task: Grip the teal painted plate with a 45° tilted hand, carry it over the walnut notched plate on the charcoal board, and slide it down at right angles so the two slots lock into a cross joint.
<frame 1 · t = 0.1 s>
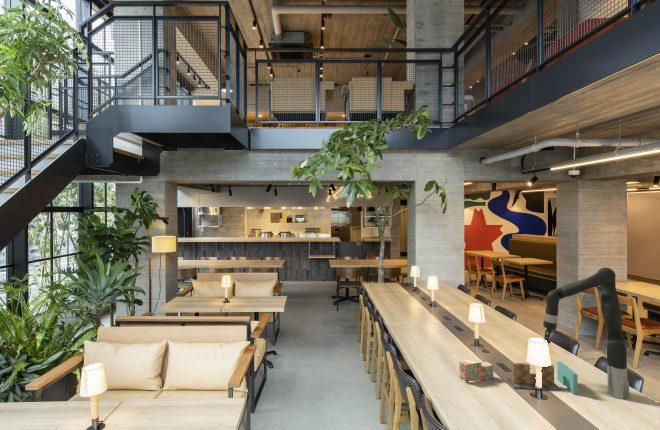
hand: (547, 344, 240), 22 cm above the table, tool pointing down, fingers open, 8 cm apart
halving stand: (533, 385, 231), on the table
teal plate: (567, 386, 228), on the table
stack of blocks: (476, 379, 240), on the table
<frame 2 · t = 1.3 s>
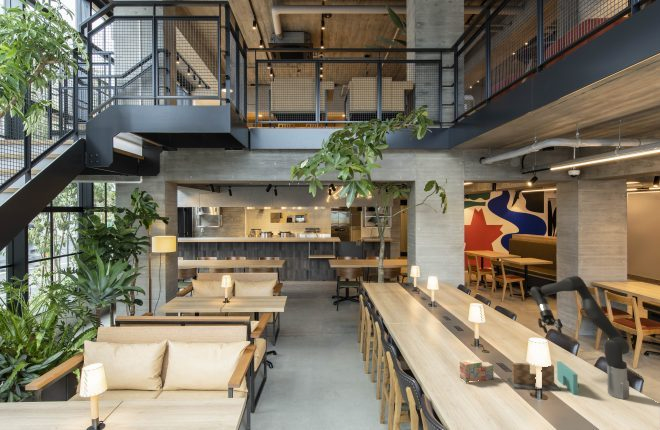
hand: (553, 333, 247), 28 cm above the table, tool tilted 45°, fingers open, 8 cm apart
nothing on the table moved.
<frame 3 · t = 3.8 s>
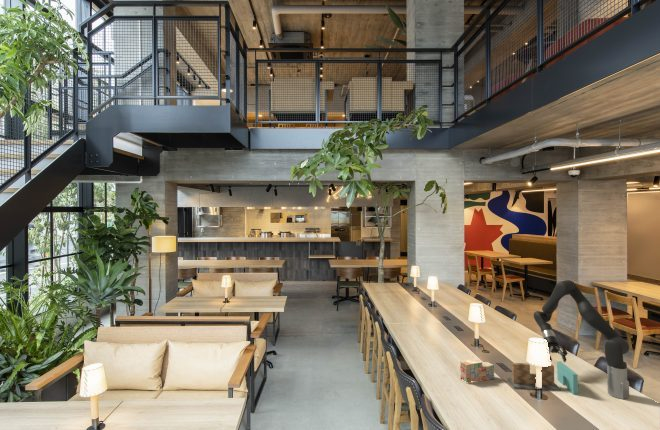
hand: (558, 361, 239), 12 cm above the table, tool tilted 45°, fingers open, 8 cm apart
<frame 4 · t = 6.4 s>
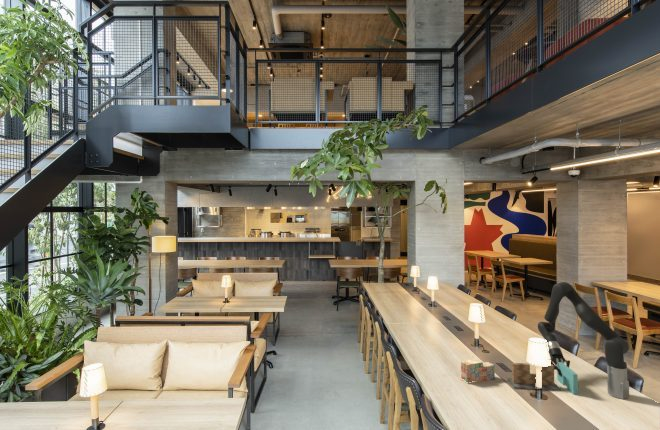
hand: (563, 375, 232), 5 cm above the table, tool tilted 45°, fingers closed on teal plate, 2 cm apart
teal plate: (567, 386, 228), on the table, touching gripper
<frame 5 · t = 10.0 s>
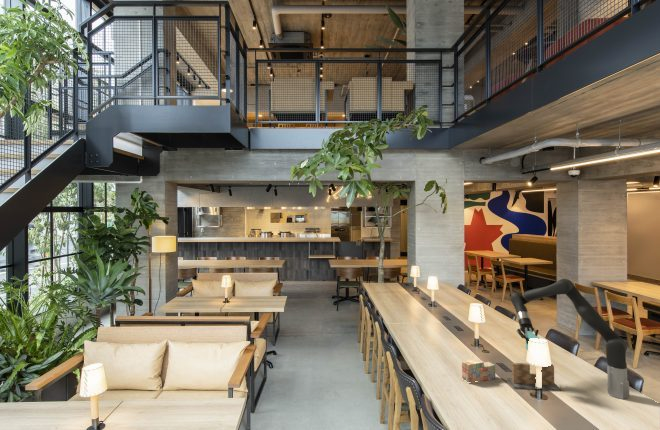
hand: (531, 344, 235), 24 cm above the table, tool tilted 45°, fingers closed on teal plate, 2 cm apart
teal plate: (533, 354, 231), point 19 cm above the table, touching gripper
when the fingers open (7 cm above the table, at t = 13.8 s): teal plate drops 1 cm, resting on halving stand.
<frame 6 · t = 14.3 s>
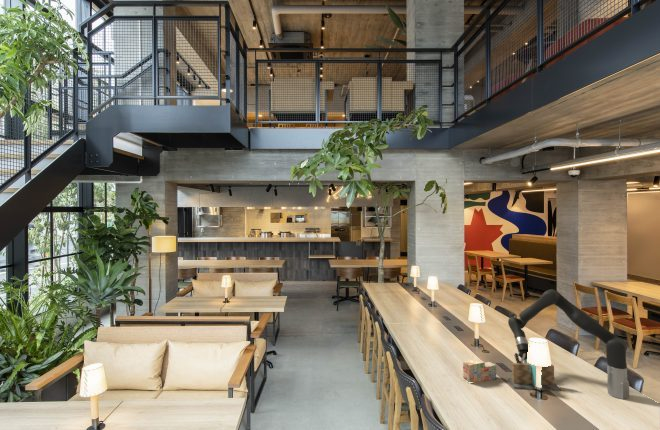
hand: (530, 369, 235), 8 cm above the table, tool tilted 45°, fingers open, 6 cm apart
teal plate: (532, 383, 231), point 1 cm above the table, touching halving stand
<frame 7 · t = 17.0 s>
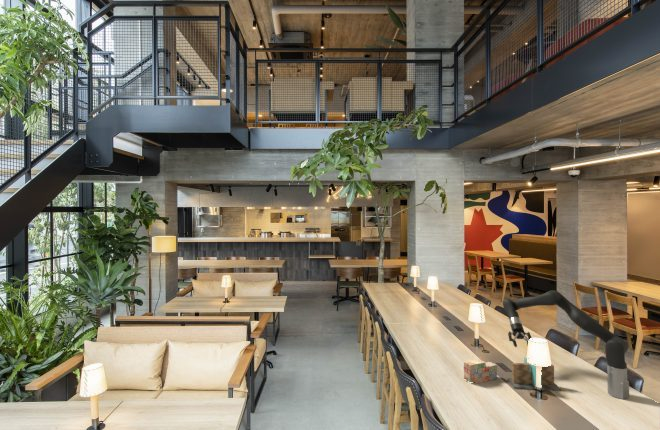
hand: (522, 346, 247), 18 cm above the table, tool tilted 45°, fingers open, 8 cm apart
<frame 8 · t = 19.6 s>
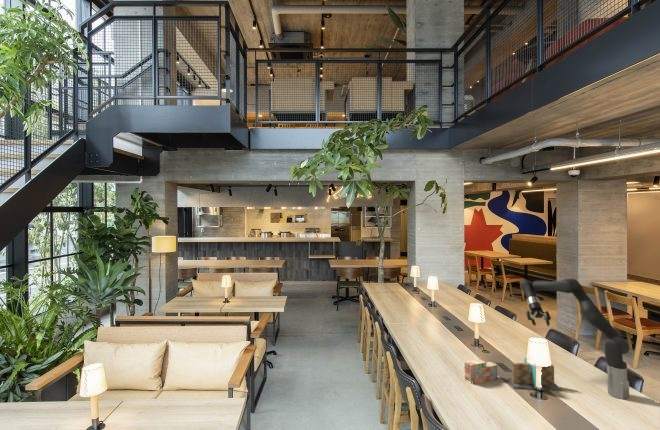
hand: (541, 325, 248), 33 cm above the table, tool tilted 45°, fingers open, 8 cm apart
at the end: teal plate 0.4 cm off-centre on the halving stand, point 1.2 cm above the halving stand's base; teal plate tilted 0°; the gripper is holding nothing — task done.
